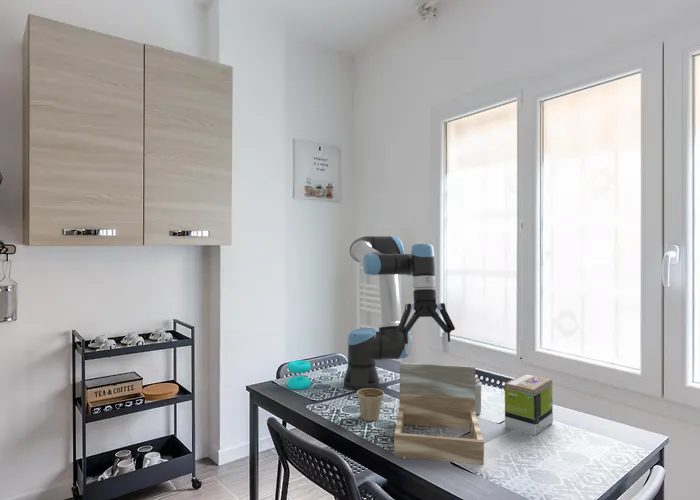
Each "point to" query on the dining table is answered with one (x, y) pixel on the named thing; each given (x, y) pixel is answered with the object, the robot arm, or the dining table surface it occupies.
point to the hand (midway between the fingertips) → (427, 353)
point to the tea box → (528, 404)
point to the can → (477, 396)
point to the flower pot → (370, 403)
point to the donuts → (299, 381)
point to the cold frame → (438, 413)
